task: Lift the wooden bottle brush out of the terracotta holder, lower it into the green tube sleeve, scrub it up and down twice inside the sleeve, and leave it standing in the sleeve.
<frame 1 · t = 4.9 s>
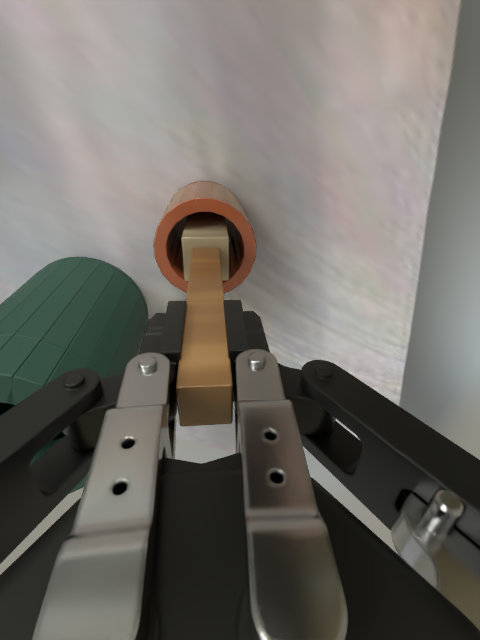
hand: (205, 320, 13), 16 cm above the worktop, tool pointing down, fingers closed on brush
green tube sleeve: (90, 309, 30), on the worktop
holder: (206, 223, 27), on the worktop
brush: (206, 225, 26), point 1 cm above the worktop, touching gripper, holder
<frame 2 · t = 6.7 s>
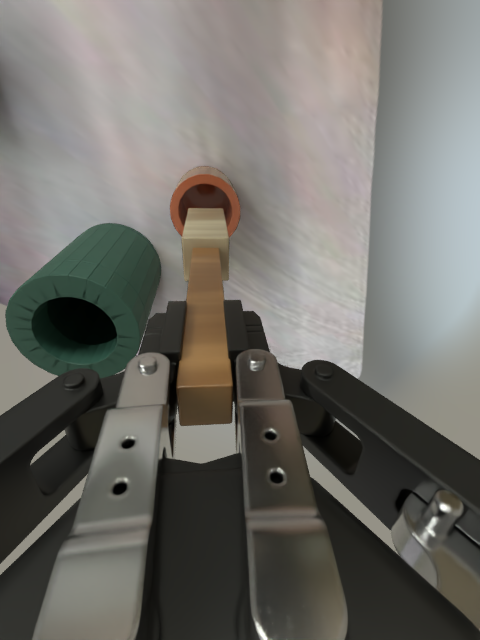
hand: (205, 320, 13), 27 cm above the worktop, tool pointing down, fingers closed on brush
green tube sleeve: (117, 265, 39), on the worktop
holder: (205, 198, 36), on the worktop
brush: (206, 225, 26), point 12 cm above the worktop, touching gripper
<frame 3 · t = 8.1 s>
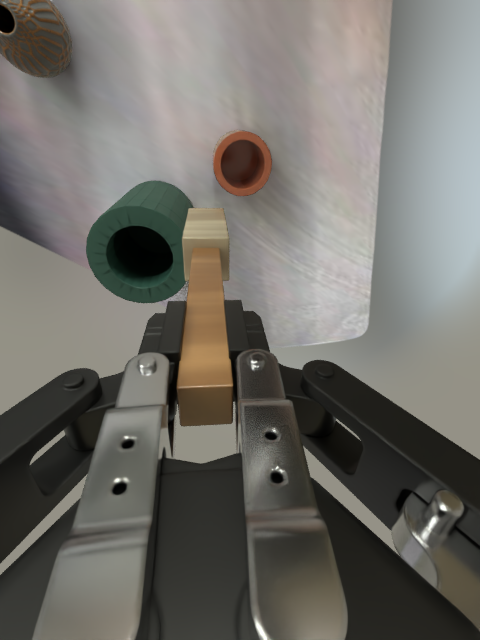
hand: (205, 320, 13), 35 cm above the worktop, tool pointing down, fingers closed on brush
green tube sleeve: (159, 220, 45), on the worktop
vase: (47, 41, 35), on the worktop
holder: (237, 159, 42), on the worktop
brush: (206, 225, 26), point 20 cm above the worktop, touching gripper
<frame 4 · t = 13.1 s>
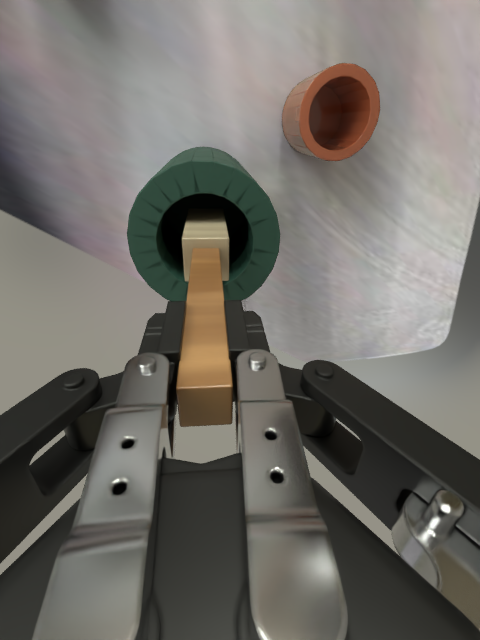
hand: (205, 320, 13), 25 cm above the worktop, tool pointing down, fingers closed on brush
green tube sleeve: (205, 201, 35), on the worktop
holder: (314, 117, 32), on the worktop
brush: (206, 225, 26), point 10 cm above the worktop, touching gripper
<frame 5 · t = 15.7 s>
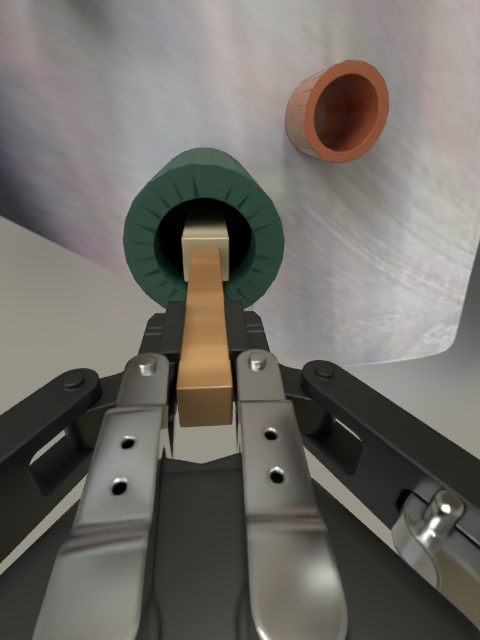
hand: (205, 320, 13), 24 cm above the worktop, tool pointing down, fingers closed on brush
green tube sleeve: (206, 203, 34), on the worktop
holder: (319, 116, 30), on the worktop
brush: (206, 226, 26), point 9 cm above the worktop, touching gripper
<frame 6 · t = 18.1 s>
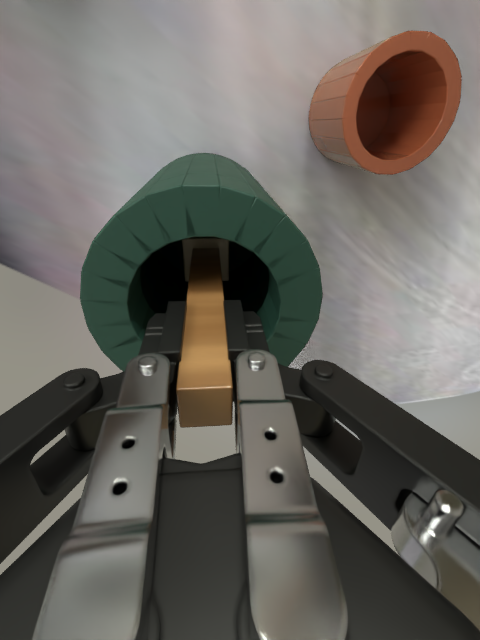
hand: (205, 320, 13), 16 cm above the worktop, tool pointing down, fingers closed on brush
green tube sleeve: (206, 222, 27), on the worktop
holder: (352, 113, 24), on the worktop
brush: (206, 225, 26), point 1 cm above the worktop, touching green tube sleeve, gripper
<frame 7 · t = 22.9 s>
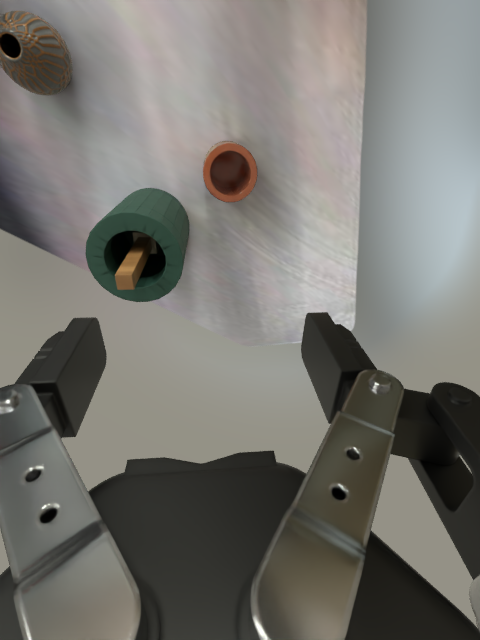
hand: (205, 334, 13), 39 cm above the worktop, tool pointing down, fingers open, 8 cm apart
green tube sleeve: (154, 224, 48), on the worktop
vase: (49, 61, 38), on the worktop
holder: (227, 167, 45), on the worktop
brush: (153, 226, 48), point 1 cm above the worktop, touching green tube sleeve
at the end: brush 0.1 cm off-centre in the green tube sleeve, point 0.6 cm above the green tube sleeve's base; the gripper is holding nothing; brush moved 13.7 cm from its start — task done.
